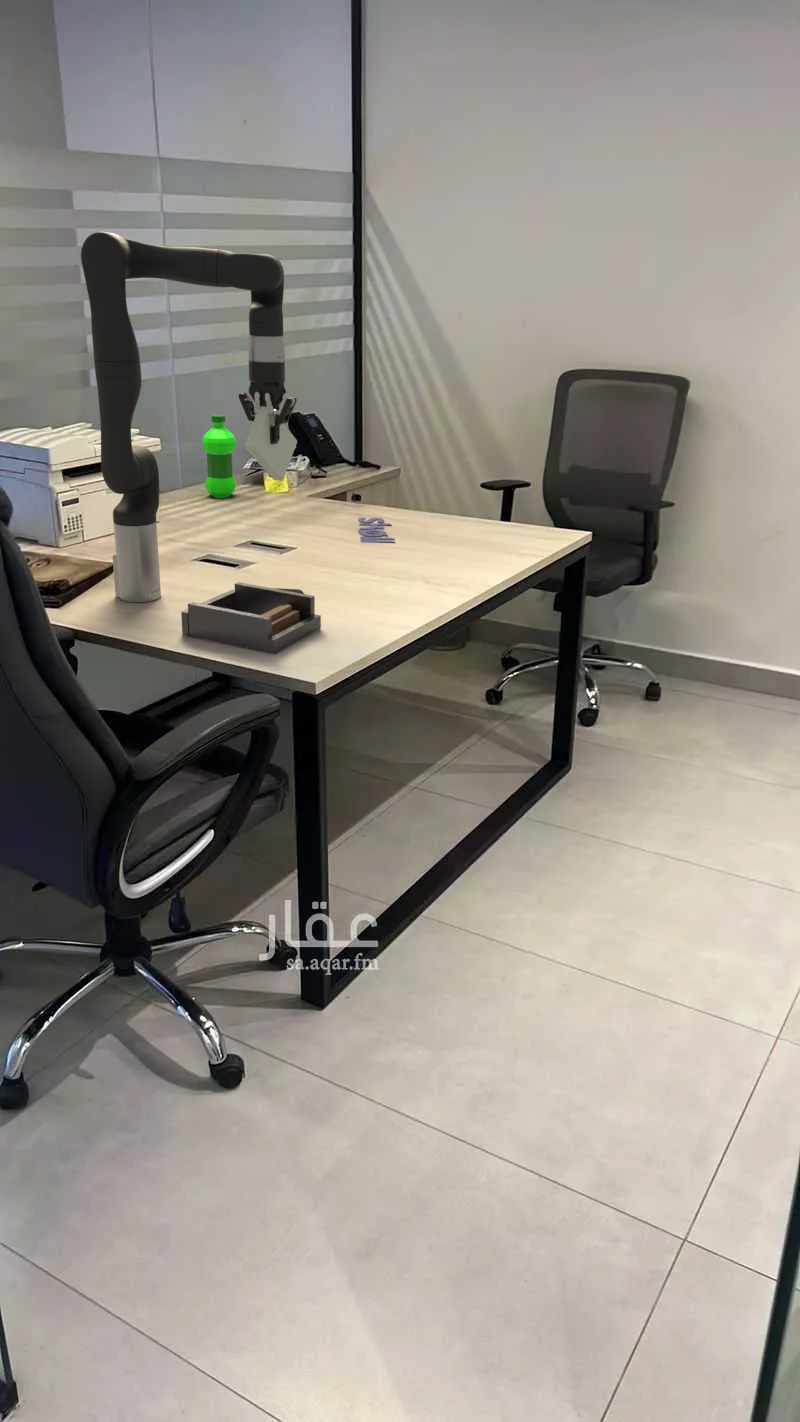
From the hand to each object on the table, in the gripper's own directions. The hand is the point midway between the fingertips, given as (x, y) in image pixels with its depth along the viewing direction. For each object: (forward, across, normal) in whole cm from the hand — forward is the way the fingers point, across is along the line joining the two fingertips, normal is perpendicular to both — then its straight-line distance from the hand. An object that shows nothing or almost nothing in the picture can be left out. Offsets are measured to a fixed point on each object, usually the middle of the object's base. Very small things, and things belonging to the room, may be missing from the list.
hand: (268, 442), depth 229 cm
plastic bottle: (+35, -72, +83) cm, 115 cm away
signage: (+36, -10, +71) cm, 80 cm away
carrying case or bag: (+36, +6, -4) cm, 36 cm away
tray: (+35, +9, -21) cm, 42 cm away
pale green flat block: (+5, 0, +7) cm, 8 cm away
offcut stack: (+35, +15, -21) cm, 43 cm away
